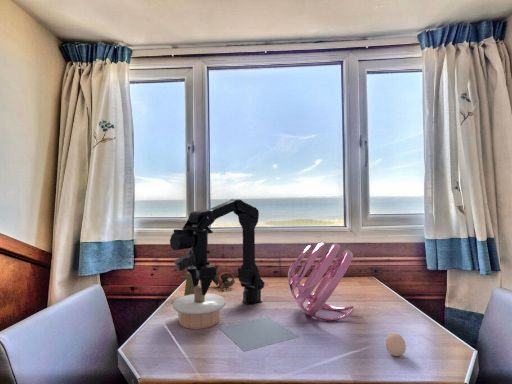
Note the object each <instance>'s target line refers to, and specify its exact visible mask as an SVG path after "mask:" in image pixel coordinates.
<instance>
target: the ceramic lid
mask: <svg viewBox="0 0 512 384" xmlns="http://www.w3.org/2000/svg"><path fill="white" fill-rule="evenodd" d="M225 306H226V298H225V297H224V296H223V295H219V294H215V293H206V295H202V291H201V284H198V286H195V287H194V294H191V295H186V296H184V295H183V296H180V297H178V298H176V299H175V300H174V301H173V302H172V308H173V310H174V311H176V312H181V313H186V314H203V313H209V312H214V311H217V310H219V309H220V310H221V309H223V308H224V307H225Z"/></svg>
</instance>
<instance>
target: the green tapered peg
mask: <svg viewBox="0 0 512 384" xmlns="http://www.w3.org/2000/svg"><path fill="white" fill-rule="evenodd" d="M184 278H185V287H184V293H183V294H184V295H183V296H186V295H191V294H194V288H193V284H192V280H191V276H190V273H189V272H188V271H186V273H185V274H184Z"/></svg>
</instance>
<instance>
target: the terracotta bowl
mask: <svg viewBox="0 0 512 384" xmlns="http://www.w3.org/2000/svg"><path fill="white" fill-rule="evenodd" d="M177 312H178V311H177ZM177 315H178V316H177V317H178V318H177V320H178V323H179V325H180V326H181V327H183V328H187V329H191V330H192V329H193V330H197V329H199V330H200V329H206V328H207V329H208V328H210V327H213V326H215V325H217V324H218V323H219V322H220V319H221V309H219V310H217V311H214V312H209V313H203V314H186V313H181V312H178V314H177Z"/></svg>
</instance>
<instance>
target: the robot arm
mask: <svg viewBox="0 0 512 384" xmlns="http://www.w3.org/2000/svg"><path fill="white" fill-rule="evenodd" d="M232 212H233V214H234V215H236V216H238V218H237V219H238V223H239V225H240V226H241V228H242V264H241V265H240V267H238V268H237V278H238V282H240V286H241V287H243V291H242V295H243V296H242V297H243V298H242V302H243V303H244V304H246V305H248V306H250V305H257V304H262V303H263V300H262V295H261V293H262V291H261V290H262V289H264V287H265V282H264V281H263V279H262V278H261V277H260V271H259V270H260V269H259V268H258V266H257V264H256V249H255V248H256V246H255V243H256V242H255V241H256V239H255V234H256V233H255V229H256V226H257V225H258V223H259V214H260V213H259V210H258V208H256V206H252V205H251V204H248V203H247V202H245V201H244V200H242V199H239V198H232V199H229V200H228V201H225V202H223V203H221V204H218V205H216V206H215V205H214V206H213V207H211V208H207V209H199V210H194V211H192V212H190V213H189V216H188V219H187V220H186V222H185V224H184V225H183V227H182V228H181V229H178V228H177V229H173V233H172V234H171V236H170V238H169V244H170V248H171V249H172V250H173V251H180V250H187V249H189V250H188V254H185V255H182V256H181V257H179V258H177V259H174V261H173V262H174V264H175V265H174V266H175V267H176V270H178V271H179V272H182V271H186V272H189V273H190V276H191V280H192V284H193V288H194V287H195V286H198V285H201V291H202V295H206V294H208V291H209V288H210V286H211V284H212V282H213V278H214V277H215V275H218V269H217V268H216V266H214V265H212V264H211V263H210V261H208V260H209V259H208V258H209V255H208V254H210V249H208V248H209V246H208V243H209V241H208V238H209V237H208V236H209V235H210V234H213V233H214V232H213V230H211V228H209V227H210V226H211V225H213V224H214V223H215V221H216V220H217V219H220V218H221V217H224V216H226V215H228V214H230V213H232Z"/></svg>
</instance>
